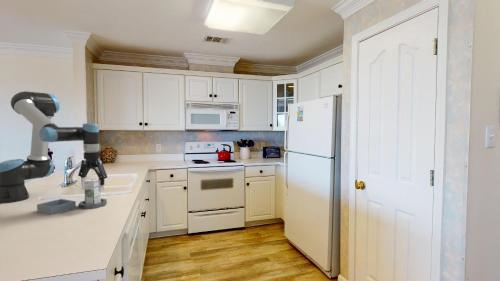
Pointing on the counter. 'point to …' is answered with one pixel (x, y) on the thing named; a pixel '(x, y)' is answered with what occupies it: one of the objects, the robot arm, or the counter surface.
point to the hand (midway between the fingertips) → (93, 190)
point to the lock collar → (90, 206)
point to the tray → (56, 206)
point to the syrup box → (92, 191)
